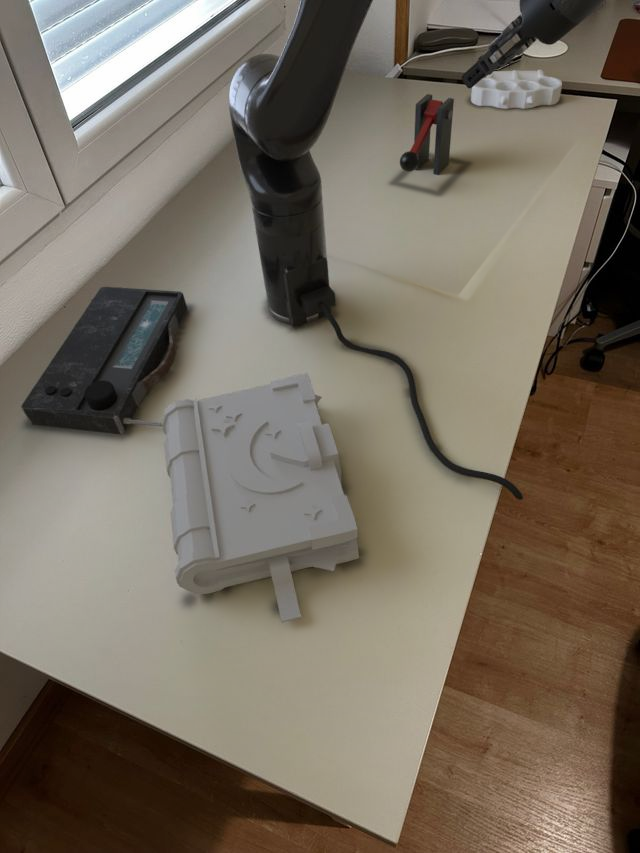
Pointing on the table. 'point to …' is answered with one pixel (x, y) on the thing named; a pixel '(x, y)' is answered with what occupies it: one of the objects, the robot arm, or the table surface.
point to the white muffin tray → (516, 90)
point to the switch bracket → (441, 133)
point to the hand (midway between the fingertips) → (466, 81)
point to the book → (256, 490)
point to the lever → (420, 137)
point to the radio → (109, 361)
